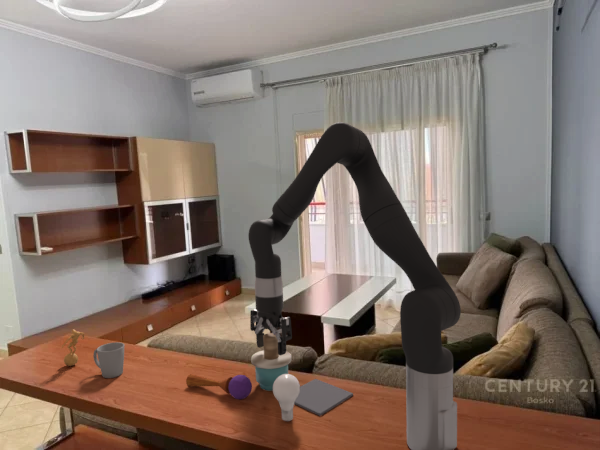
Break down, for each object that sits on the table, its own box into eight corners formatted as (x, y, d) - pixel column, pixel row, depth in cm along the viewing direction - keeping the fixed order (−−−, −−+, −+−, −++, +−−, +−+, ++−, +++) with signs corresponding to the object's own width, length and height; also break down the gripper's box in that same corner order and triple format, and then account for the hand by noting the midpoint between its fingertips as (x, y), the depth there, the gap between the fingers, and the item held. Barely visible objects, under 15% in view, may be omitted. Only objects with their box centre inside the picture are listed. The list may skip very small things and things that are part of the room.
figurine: (77, 359, 139) (74, 324, 138) (91, 361, 137) (88, 325, 136) (55, 370, 131) (52, 332, 130) (70, 372, 129) (66, 334, 128)
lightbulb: (286, 410, 103) (284, 366, 102) (306, 418, 99) (305, 373, 98) (268, 422, 98) (266, 376, 97) (288, 431, 94) (287, 384, 93)
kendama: (197, 367, 121) (256, 373, 112) (197, 388, 121) (256, 397, 111) (183, 371, 116) (243, 378, 107) (182, 393, 115) (242, 403, 106)
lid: (299, 359, 116) (298, 334, 116) (270, 372, 109) (269, 346, 108) (272, 349, 124) (271, 326, 123) (243, 361, 116) (242, 336, 115)
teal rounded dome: (295, 383, 117) (294, 359, 116) (271, 396, 111) (270, 370, 110) (273, 374, 123) (272, 351, 123) (249, 385, 117) (248, 361, 116)
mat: (353, 395, 110) (352, 393, 110) (320, 416, 100) (320, 413, 100) (315, 380, 119) (315, 378, 118) (282, 398, 109) (282, 396, 109)
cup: (114, 381, 122) (112, 352, 121) (86, 377, 125) (84, 350, 124) (131, 370, 129) (130, 343, 129) (104, 367, 132) (102, 340, 131)
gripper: (297, 293, 112) (299, 352, 114) (262, 286, 122) (264, 340, 124) (276, 299, 107) (279, 361, 108) (241, 291, 117) (244, 348, 118)
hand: (271, 350), depth 116 cm, fingers open, 8 cm apart
